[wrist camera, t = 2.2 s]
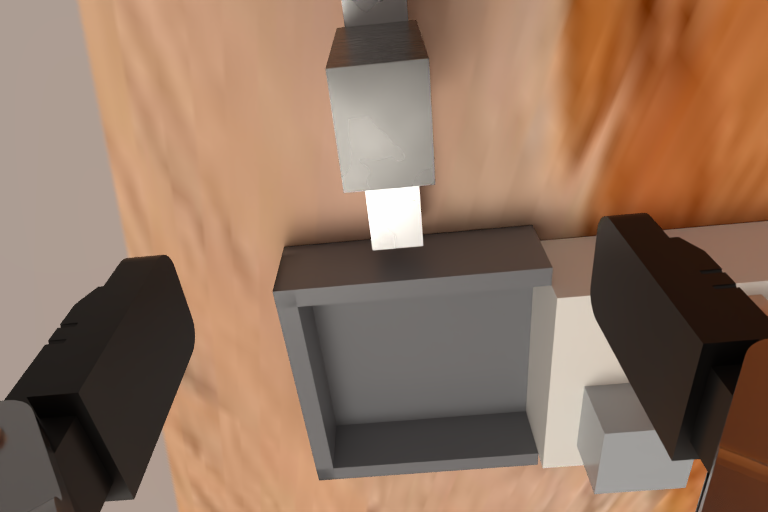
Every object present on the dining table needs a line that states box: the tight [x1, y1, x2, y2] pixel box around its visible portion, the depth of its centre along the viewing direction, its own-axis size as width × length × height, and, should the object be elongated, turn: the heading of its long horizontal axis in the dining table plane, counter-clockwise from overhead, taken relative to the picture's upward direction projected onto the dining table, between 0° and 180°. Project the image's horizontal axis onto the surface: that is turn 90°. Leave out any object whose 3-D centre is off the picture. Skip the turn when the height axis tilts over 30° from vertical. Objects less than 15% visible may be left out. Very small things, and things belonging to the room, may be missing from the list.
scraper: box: [326, 0, 435, 250], centre depth 21 cm, size 16×3×9 cm, turn 5°
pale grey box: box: [577, 383, 694, 494], centre depth 29 cm, size 4×4×3 cm
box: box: [273, 225, 553, 480], centre depth 32 cm, size 14×13×4 cm
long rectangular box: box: [526, 221, 768, 468], centre depth 31 cm, size 12×16×5 cm
